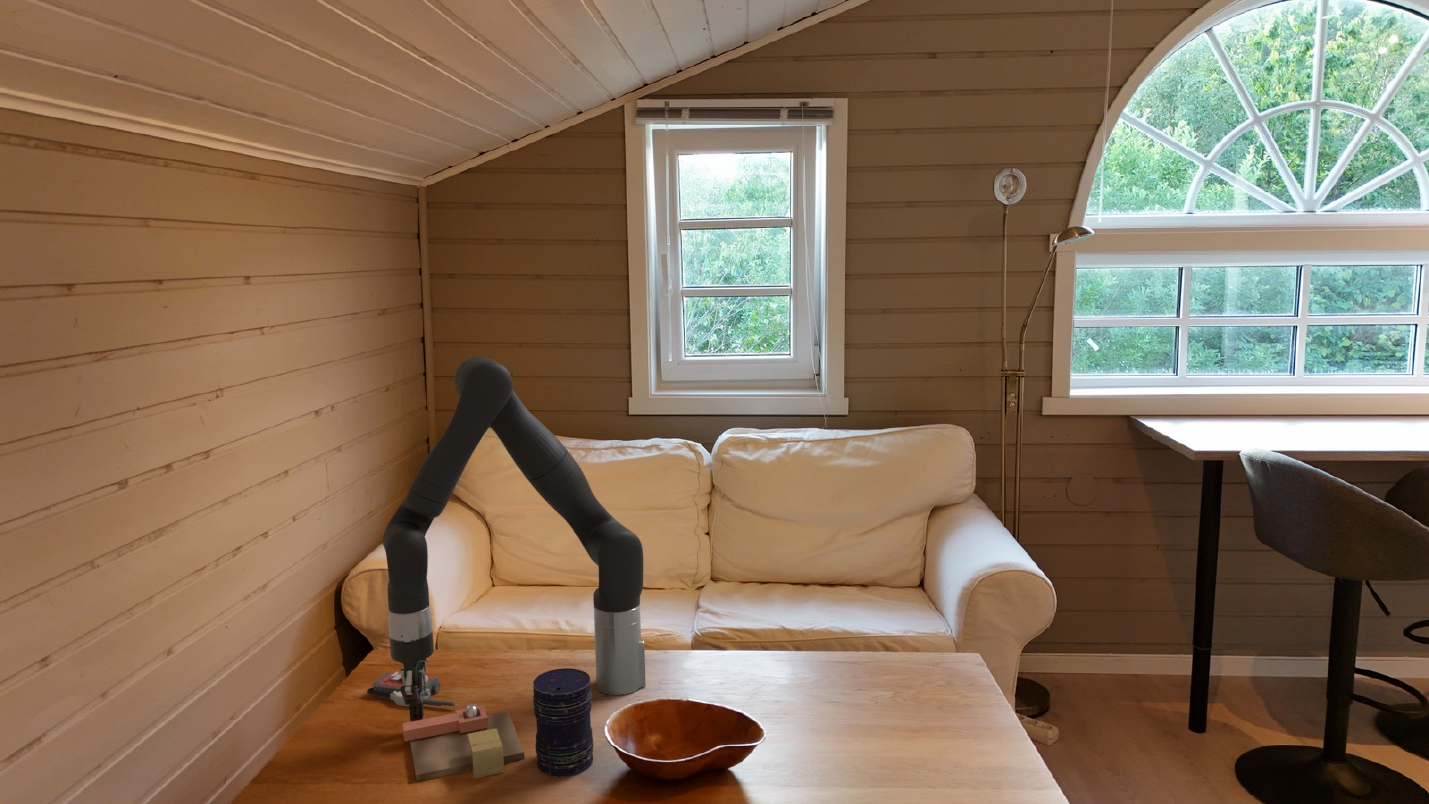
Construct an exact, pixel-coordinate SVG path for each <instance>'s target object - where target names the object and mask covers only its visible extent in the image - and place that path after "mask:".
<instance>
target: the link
mask: <svg viewBox="0 0 1429 804" xmlns="http://www.w3.org/2000/svg"><path fill="white" fill-rule="evenodd" d="M476 708H477V717H474V718H469V719H467V712H466V708H461V709H457V710H455V713H448V714H444V715H439V716H434V717H429V718H423V719H422V720H417V721H407V722H403V723H402V735H403V741H404V743H405V742H410V740H415V739H420V738H425V737H430V736H435V735H440V734H445V733H451V732H456V731H460V733H464V732H469V731H474V730H479V729H484V728H488V717H487V715H488V714H487V712H486V708H485V705H483V704H482V705H476Z"/></svg>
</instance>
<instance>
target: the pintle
mask: <svg viewBox="0 0 1429 804" xmlns="http://www.w3.org/2000/svg"><path fill="white" fill-rule="evenodd" d="M476 707H477V704H475V703H470V704H469V703H468V704H467V705H466V707H465V709H466V712H467V719H469V718H474V717H477V708H476Z"/></svg>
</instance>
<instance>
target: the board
mask: <svg viewBox="0 0 1429 804" xmlns="http://www.w3.org/2000/svg"><path fill="white" fill-rule="evenodd" d="M487 717H488V728H484V729H479V730H474V731H469V732H464V733H460V731H456V732H451V733H445V734H440V735H435V736H430V737H425V738H420V739H415V740H410V741H409V745H410V751H411V757H412V761H413V769H414V774H415V780H416V782H422V781H426V780H431V779H436V778H440V777H445V776H450V775H454V774H459V773H464V772H468V771H472V761H471V749H470V745H469V742H468V738H467V734H470V733H475V732H480V731H485V730H490V729H495V728H497V731H498V734H499V737H500V740H501V742H502V745H503V759H504V764H506V763H511V762H515V761H520V760H524V759H525V750H524V747H523V745H522V743H521V740H520V738H519V736H518V733H517V731H516V728H515V725H514V723H513V720H512V717H511V715H510V712H509V710H506V711H501V712H500V711H499V712H494V713H491V714H487Z"/></svg>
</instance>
